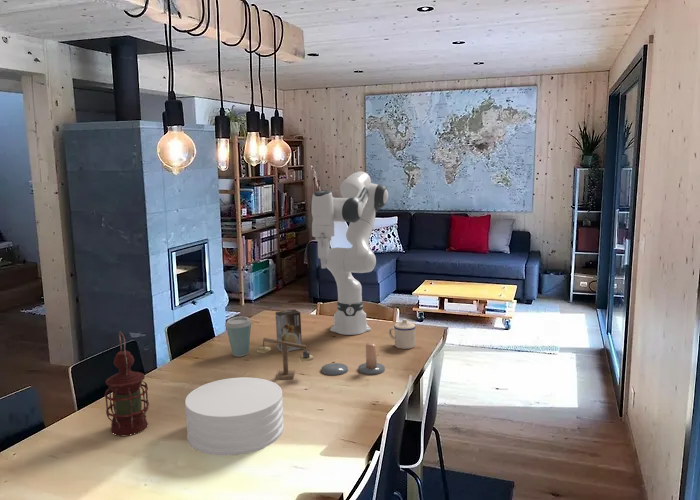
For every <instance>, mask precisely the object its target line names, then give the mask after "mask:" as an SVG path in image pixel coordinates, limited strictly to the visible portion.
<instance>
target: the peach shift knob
mask: <svg viewBox="0 0 700 500" xmlns="http://www.w3.org/2000/svg"><path fill="white" fill-rule="evenodd" d="M377 346H378V345H377V343H375V342H367V343H365V363H366V368H368V369H375V368H377V363H378V362H377V360H378V359H377V357H378V356H377V355H378V354H377V352H378V351H377V350H378V349H377Z"/></svg>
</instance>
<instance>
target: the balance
mask: <svg viewBox="0 0 700 500" xmlns="http://www.w3.org/2000/svg"><path fill="white" fill-rule="evenodd" d="M262 343H263V346H261V347H258V348H257V349H256V351H257V353H260V354H264V353H265V354H266V353H267V354H268V353H269V352H271V351H272V348H271V347H269V346H265V343H270V344H276V345H277V344H280V345H282V346H283V352H282V368H283V370H279V371H277V376H276V380H293V379H294V378H295V373H296V372H295V371H296V370H291V369H290V370H289V358H288V357H289V355H288V353H289V351H288V349H287V346H291V347H296V348H302V349H303V350H304V351H302V354H301V356H299V360H300V361H302V362H310V361H312V360H314V356H313V355H311V353H310V351H309V350H307V345H305V344H302V345H300V344H295V343H290V342H284V341H279V340H277V339H274V338H273V339H271V338H268V337H263V339H262ZM302 349H301V350H302Z"/></svg>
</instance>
